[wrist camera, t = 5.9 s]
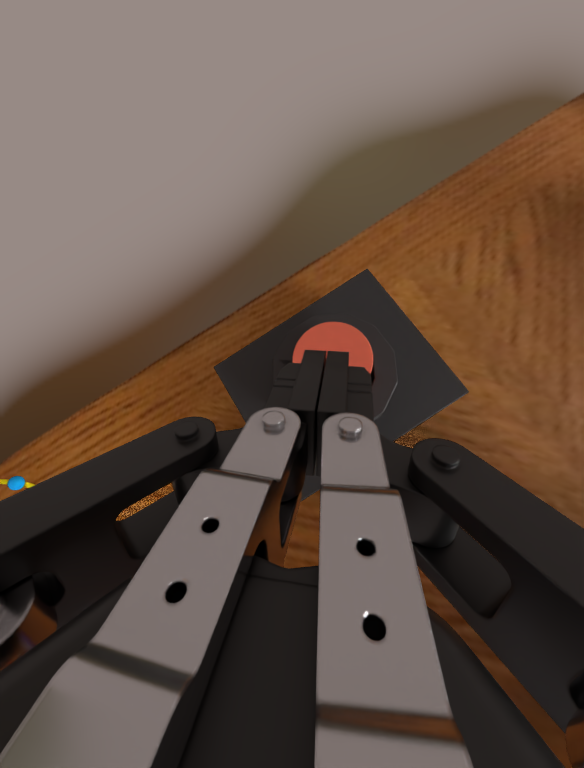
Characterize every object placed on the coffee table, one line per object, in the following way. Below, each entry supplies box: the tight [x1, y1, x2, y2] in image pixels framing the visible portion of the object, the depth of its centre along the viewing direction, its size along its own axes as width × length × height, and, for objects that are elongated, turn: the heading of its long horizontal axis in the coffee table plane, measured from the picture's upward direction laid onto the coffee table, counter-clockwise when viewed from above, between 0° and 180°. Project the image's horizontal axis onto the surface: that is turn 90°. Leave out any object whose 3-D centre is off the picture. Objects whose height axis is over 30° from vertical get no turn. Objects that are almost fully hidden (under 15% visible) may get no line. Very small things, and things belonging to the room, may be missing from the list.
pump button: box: [292, 322, 373, 374], centre depth 18 cm, size 4×4×2 cm
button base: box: [214, 269, 469, 502], centre depth 22 cm, size 12×10×8 cm
